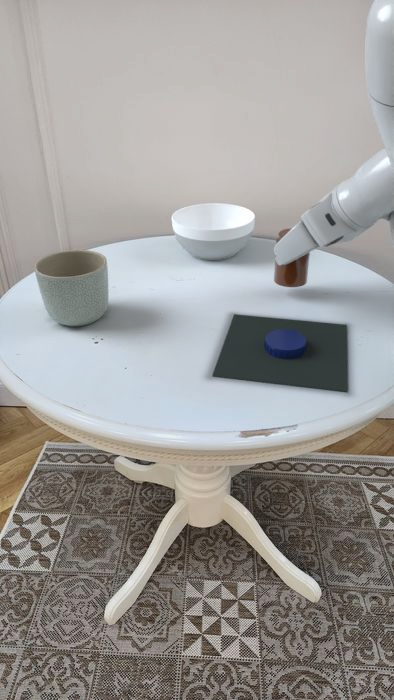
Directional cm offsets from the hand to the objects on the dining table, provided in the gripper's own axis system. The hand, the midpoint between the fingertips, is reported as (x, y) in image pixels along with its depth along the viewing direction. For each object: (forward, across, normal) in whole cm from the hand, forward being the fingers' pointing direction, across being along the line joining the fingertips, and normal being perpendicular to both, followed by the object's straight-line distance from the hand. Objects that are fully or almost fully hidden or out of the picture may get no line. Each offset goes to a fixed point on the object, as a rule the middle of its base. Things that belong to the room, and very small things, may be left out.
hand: (290, 255), depth 101 cm
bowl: (+24, -8, -12) cm, 28 cm away
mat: (-2, +18, +14) cm, 23 cm away
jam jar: (+3, 0, +4) cm, 5 cm away
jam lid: (-4, +18, +13) cm, 22 cm away
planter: (+23, +33, -11) cm, 41 cm away
